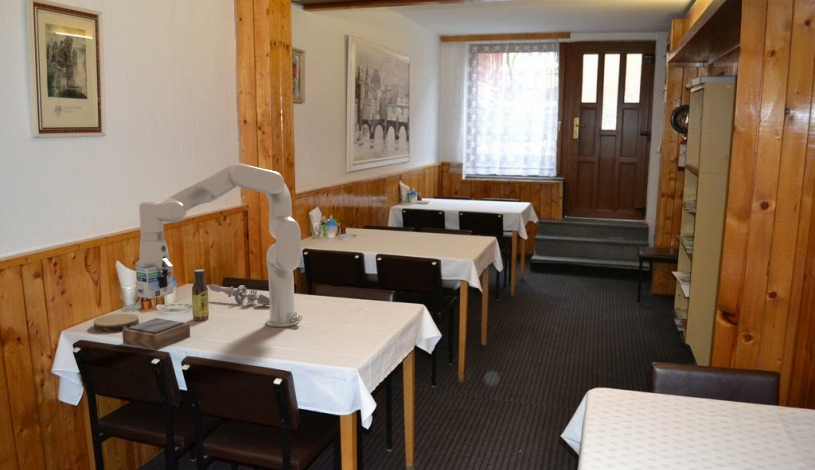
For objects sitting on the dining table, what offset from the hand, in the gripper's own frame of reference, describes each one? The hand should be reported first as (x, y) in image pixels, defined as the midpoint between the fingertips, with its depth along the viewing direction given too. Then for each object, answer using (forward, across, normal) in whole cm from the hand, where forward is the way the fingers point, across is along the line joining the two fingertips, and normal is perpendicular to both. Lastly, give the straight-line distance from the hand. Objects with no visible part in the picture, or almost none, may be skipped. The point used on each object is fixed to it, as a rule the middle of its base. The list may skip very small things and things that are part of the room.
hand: (155, 285), depth 237 cm
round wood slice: (+20, +27, -6) cm, 35 cm away
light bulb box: (+4, 0, 0) cm, 4 cm away
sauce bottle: (+20, +4, -27) cm, 34 cm away
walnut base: (+20, 0, 0) cm, 20 cm away
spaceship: (+20, +6, -54) cm, 58 cm away
